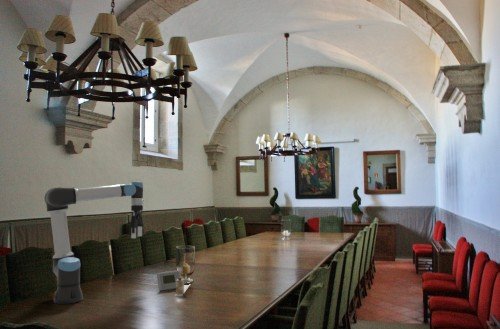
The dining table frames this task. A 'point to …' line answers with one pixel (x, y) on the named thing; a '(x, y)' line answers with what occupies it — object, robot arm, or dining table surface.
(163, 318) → the dining table surface
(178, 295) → the lath
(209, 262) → the dining table surface
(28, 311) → the dining table surface
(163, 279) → the digital clock
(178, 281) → the tan wooden block
